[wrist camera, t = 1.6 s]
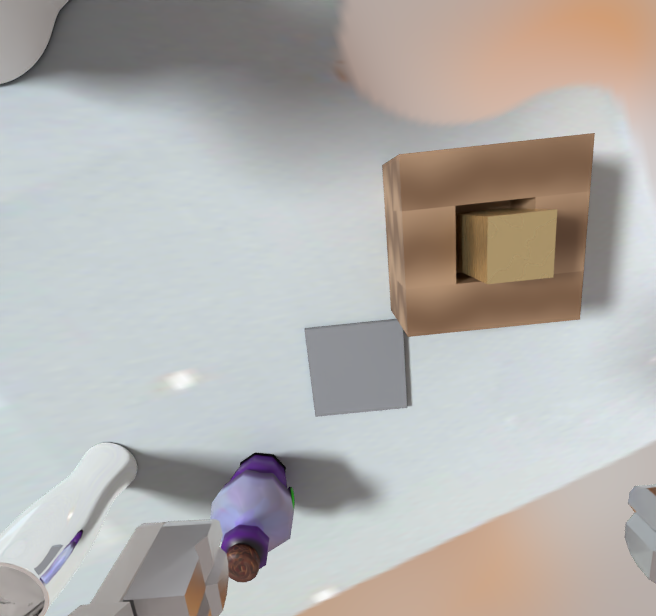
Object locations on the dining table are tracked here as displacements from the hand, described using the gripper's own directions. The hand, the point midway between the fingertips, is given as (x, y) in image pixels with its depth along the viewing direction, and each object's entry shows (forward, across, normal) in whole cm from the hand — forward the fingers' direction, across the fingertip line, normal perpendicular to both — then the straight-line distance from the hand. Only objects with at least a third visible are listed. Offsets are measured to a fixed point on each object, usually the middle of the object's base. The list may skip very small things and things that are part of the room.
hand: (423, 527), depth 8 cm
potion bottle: (+32, +12, +22) cm, 40 cm away
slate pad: (+31, 0, +10) cm, 33 cm away
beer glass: (+32, +28, +19) cm, 47 cm away
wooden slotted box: (+31, -11, -3) cm, 33 cm away
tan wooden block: (+27, -11, -3) cm, 29 cm away
